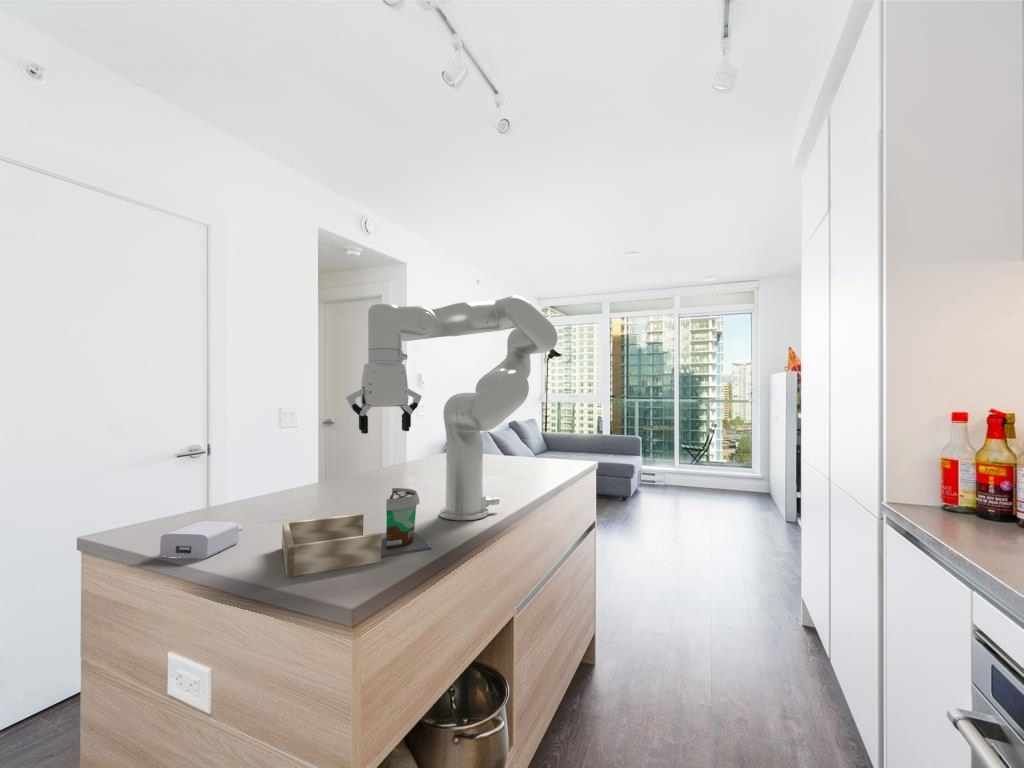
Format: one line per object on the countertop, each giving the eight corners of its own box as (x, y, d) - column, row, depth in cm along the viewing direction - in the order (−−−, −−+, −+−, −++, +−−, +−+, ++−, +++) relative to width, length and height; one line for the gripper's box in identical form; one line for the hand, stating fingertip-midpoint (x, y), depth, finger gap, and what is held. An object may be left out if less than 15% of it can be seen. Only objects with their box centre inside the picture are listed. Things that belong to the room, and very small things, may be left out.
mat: (410, 530, 103) (410, 529, 103) (431, 548, 91) (431, 546, 91) (365, 537, 98) (365, 535, 98) (380, 557, 86) (380, 555, 86)
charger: (257, 536, 99) (206, 560, 84) (216, 535, 99) (159, 559, 84) (257, 514, 99) (207, 534, 84) (217, 513, 100) (160, 533, 85)
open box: (362, 536, 98) (362, 513, 98) (381, 561, 83) (381, 534, 83) (282, 548, 90) (282, 522, 91) (287, 577, 76) (288, 547, 76)
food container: (417, 550, 88) (418, 499, 89) (385, 552, 87) (386, 499, 88) (420, 532, 101) (420, 486, 101) (391, 533, 100) (392, 487, 100)
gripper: (414, 360, 113) (414, 429, 113) (342, 358, 103) (342, 433, 103) (426, 358, 107) (426, 431, 107) (351, 355, 97) (351, 435, 97)
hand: (385, 432), depth 105 cm, fingers open, 9 cm apart
